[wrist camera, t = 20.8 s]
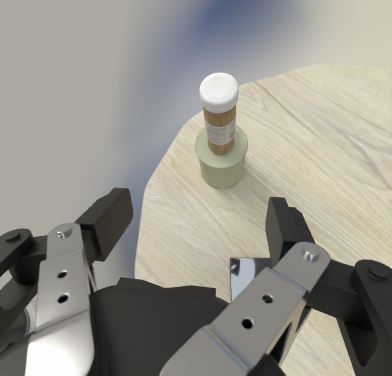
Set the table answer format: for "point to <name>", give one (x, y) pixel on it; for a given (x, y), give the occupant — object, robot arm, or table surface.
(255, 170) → the table surface
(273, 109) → the table surface
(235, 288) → the slate coaster
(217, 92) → the sprinkles bottle
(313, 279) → the robot arm
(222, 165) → the can
